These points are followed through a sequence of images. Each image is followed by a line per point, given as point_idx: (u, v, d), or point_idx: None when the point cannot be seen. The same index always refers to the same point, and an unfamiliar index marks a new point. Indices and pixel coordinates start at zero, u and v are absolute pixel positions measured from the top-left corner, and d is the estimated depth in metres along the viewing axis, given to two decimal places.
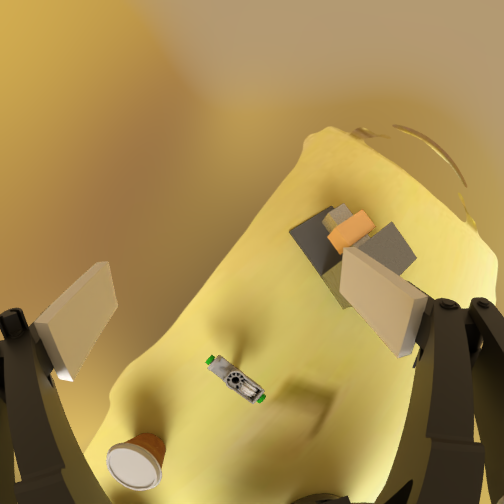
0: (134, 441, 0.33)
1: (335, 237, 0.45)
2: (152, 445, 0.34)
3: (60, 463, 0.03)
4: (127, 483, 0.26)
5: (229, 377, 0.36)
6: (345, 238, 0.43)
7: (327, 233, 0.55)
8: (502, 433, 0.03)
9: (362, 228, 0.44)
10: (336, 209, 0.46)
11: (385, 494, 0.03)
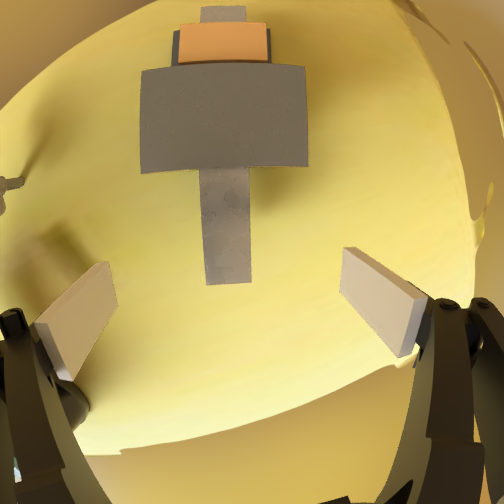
0: None
1: None
2: None
3: (60, 463, 0.03)
4: None
5: None
6: (182, 47, 0.16)
7: None
8: (502, 433, 0.03)
9: (233, 47, 0.17)
10: (221, 8, 0.16)
11: (385, 494, 0.03)
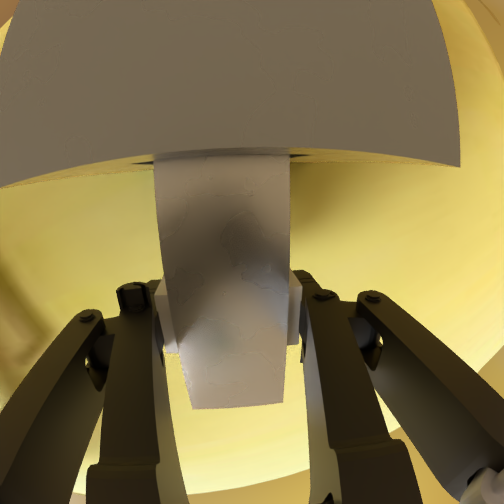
0: None
1: None
2: None
3: (154, 455, 0.03)
4: None
5: None
6: None
7: None
8: (437, 434, 0.04)
9: None
10: None
11: (313, 501, 0.04)
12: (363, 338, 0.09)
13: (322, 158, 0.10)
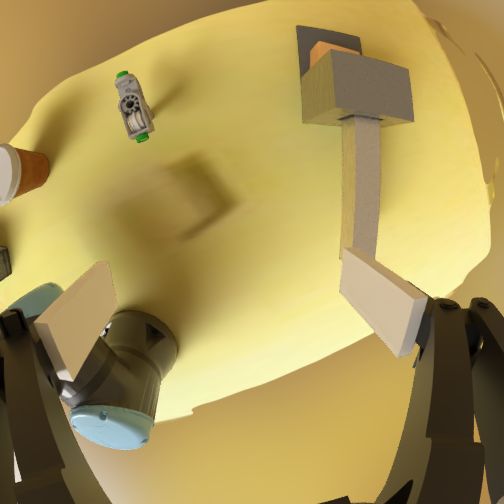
0: (18, 149, 0.27)
1: (314, 51, 0.33)
2: (32, 160, 0.29)
3: (60, 463, 0.03)
4: None
5: (126, 98, 0.26)
6: (320, 53, 0.31)
7: None
8: (502, 433, 0.03)
9: None
10: None
11: (385, 494, 0.03)
12: (474, 342, 0.07)
13: (382, 122, 0.32)
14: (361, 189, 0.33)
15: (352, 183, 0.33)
